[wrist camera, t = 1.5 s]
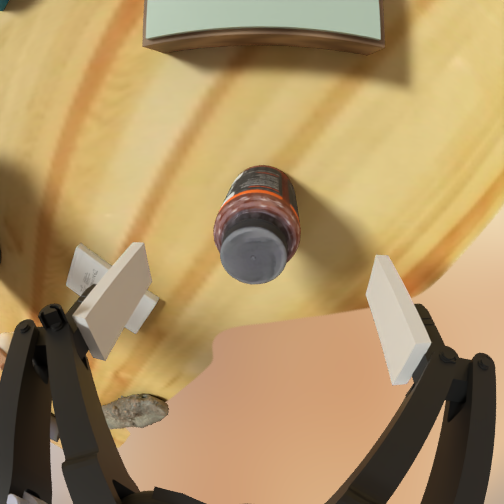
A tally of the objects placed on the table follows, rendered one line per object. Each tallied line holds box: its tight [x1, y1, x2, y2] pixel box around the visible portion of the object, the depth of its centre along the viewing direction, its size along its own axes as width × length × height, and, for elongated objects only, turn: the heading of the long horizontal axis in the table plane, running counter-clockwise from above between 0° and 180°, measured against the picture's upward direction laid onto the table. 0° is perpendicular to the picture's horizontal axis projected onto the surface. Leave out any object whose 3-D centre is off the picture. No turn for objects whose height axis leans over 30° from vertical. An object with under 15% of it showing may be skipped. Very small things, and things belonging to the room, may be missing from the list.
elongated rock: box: [102, 394, 169, 429], centre depth 52 cm, size 35×5×10 cm
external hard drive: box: [66, 243, 159, 334], centre depth 34 cm, size 2×8×12 cm
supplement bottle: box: [214, 165, 301, 284], centre depth 22 cm, size 6×6×11 cm
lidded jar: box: [0, 332, 14, 370], centre depth 43 cm, size 11×11×9 cm
